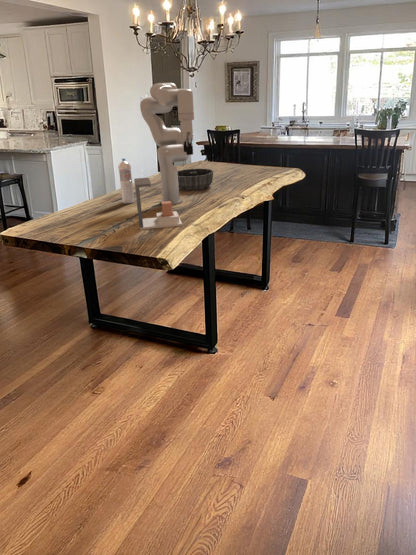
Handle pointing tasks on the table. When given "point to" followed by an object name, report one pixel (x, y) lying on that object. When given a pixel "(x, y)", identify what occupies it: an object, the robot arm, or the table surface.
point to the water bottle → (126, 182)
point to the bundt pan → (195, 178)
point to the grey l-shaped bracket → (139, 183)
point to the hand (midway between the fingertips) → (188, 153)
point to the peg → (167, 208)
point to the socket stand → (162, 221)
